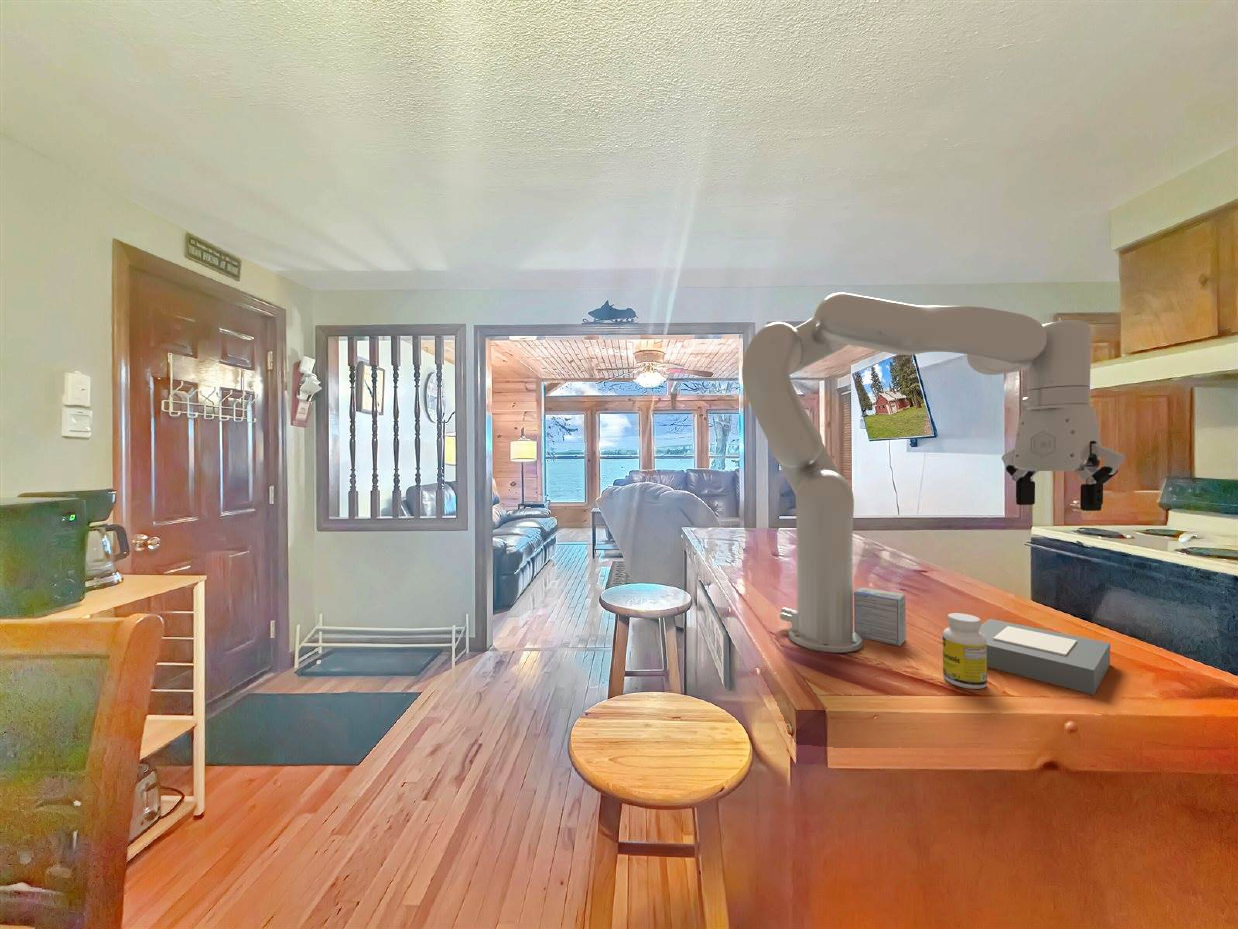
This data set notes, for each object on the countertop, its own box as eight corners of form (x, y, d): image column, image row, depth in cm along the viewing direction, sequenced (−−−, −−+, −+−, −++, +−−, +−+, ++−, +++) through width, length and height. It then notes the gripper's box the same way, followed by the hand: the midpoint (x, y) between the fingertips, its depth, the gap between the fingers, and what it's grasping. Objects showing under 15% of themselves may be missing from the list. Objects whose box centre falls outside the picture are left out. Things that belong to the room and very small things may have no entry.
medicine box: (906, 640, 90) (906, 593, 90) (900, 647, 87) (900, 598, 87) (860, 630, 96) (860, 586, 96) (853, 636, 93) (853, 591, 93)
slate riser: (961, 659, 81) (961, 637, 81) (989, 637, 92) (989, 617, 91) (1094, 695, 69) (1094, 668, 69) (1110, 664, 79) (1110, 641, 79)
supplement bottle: (935, 673, 76) (935, 610, 76) (973, 675, 76) (973, 612, 76) (954, 689, 71) (954, 622, 71) (995, 691, 70) (995, 623, 70)
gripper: (987, 406, 86) (986, 503, 86) (1102, 393, 69) (1101, 513, 69) (1021, 407, 88) (1020, 502, 88) (1143, 394, 71) (1141, 512, 71)
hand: (1056, 507), depth 79 cm, fingers open, 9 cm apart
